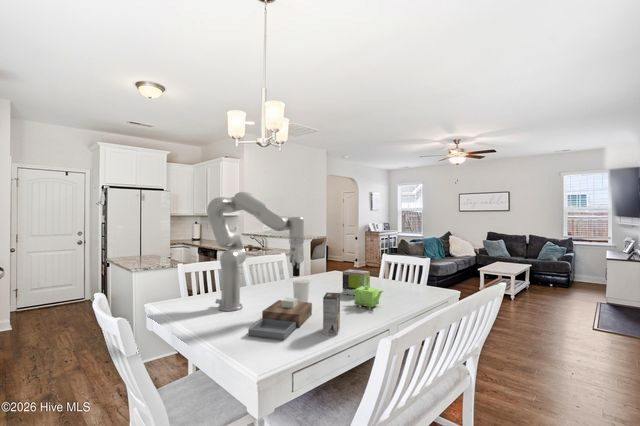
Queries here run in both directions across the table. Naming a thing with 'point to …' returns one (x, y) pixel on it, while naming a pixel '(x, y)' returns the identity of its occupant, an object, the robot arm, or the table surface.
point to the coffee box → (331, 313)
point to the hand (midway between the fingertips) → (296, 276)
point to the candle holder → (301, 290)
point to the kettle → (366, 296)
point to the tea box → (355, 280)
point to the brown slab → (288, 312)
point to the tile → (289, 302)
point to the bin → (272, 329)
